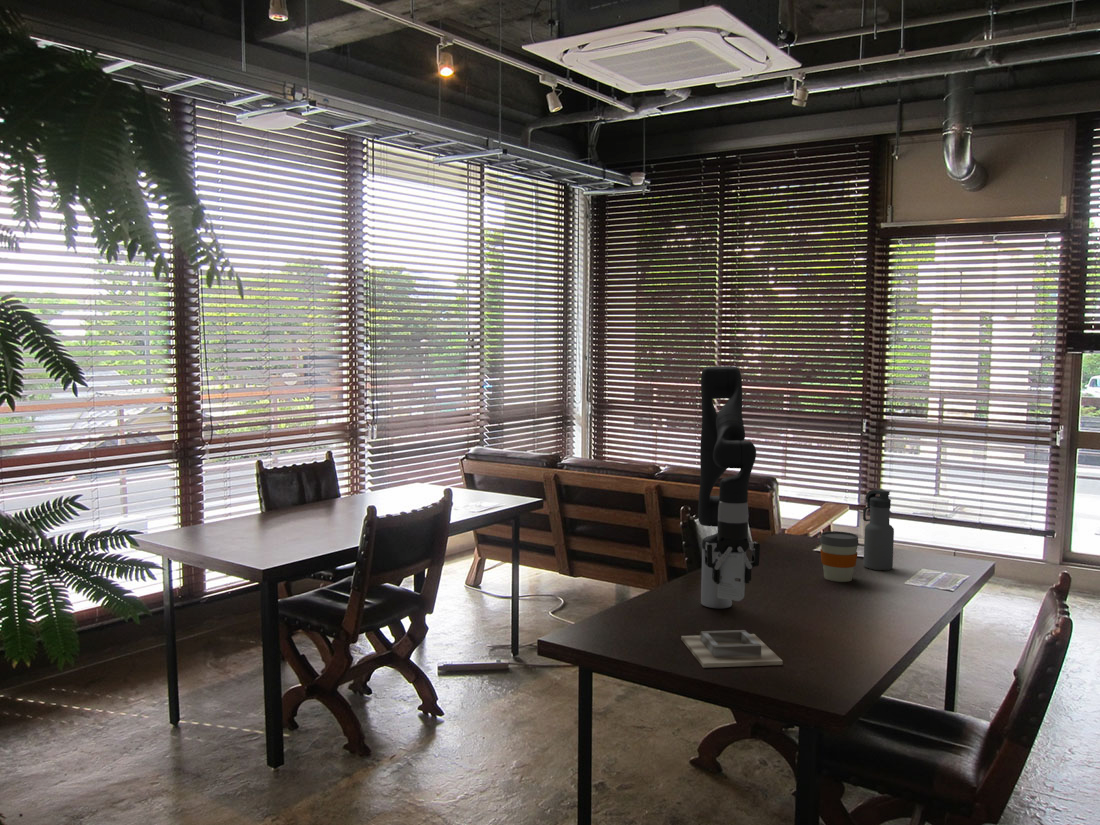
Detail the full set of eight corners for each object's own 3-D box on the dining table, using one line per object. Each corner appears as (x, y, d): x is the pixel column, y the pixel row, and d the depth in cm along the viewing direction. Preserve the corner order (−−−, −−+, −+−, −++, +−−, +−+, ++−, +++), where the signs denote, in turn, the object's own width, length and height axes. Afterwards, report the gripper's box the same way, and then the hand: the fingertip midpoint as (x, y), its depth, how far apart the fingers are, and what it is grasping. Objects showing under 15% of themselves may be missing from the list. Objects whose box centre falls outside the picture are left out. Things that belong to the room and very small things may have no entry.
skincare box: (716, 598, 213) (717, 551, 212) (722, 594, 217) (723, 547, 216) (740, 602, 210) (741, 554, 209) (745, 597, 214) (746, 550, 213)
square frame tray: (681, 639, 223) (681, 626, 223) (753, 637, 225) (754, 624, 225) (703, 667, 203) (703, 653, 203) (782, 664, 205) (782, 650, 205)
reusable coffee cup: (862, 583, 280) (864, 539, 279) (825, 583, 280) (826, 538, 279) (850, 573, 292) (851, 531, 291) (814, 573, 293) (815, 530, 291)
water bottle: (856, 565, 304) (859, 489, 302) (876, 562, 308) (879, 487, 306) (878, 572, 295) (881, 493, 293) (898, 569, 299) (901, 491, 297)
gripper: (755, 515, 216) (753, 578, 218) (701, 516, 215) (699, 579, 216) (765, 521, 209) (764, 586, 210) (709, 522, 207) (708, 587, 208)
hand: (731, 582), depth 213 cm, fingers closed on skincare box, 7 cm apart
